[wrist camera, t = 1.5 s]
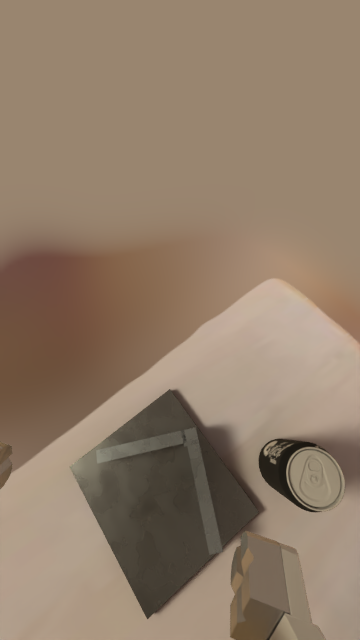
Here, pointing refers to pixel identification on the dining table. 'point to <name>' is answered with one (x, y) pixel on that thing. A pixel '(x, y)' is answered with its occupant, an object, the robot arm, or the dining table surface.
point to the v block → (161, 499)
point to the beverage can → (303, 474)
